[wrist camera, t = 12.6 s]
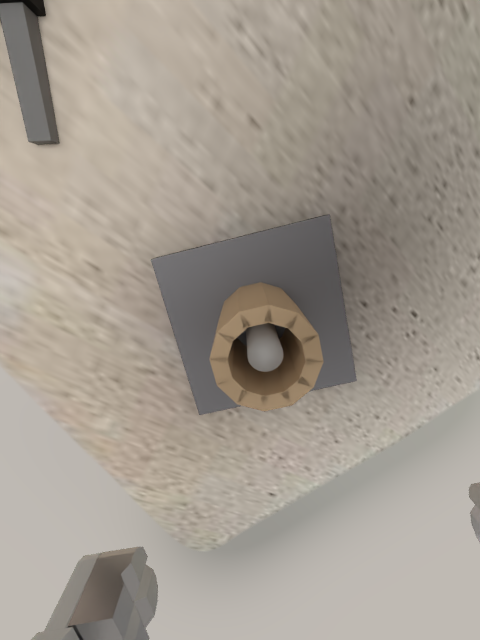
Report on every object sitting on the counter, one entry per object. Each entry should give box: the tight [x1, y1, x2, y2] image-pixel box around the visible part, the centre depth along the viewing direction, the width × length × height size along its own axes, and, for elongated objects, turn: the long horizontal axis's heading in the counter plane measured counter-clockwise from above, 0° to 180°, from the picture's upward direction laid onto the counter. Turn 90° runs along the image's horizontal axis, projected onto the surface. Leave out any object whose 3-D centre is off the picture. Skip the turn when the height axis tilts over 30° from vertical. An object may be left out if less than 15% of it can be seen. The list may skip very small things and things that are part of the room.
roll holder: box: [151, 215, 357, 415], centre depth 24 cm, size 14×14×8 cm
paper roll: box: [209, 282, 324, 411], centre depth 23 cm, size 6×6×8 cm
